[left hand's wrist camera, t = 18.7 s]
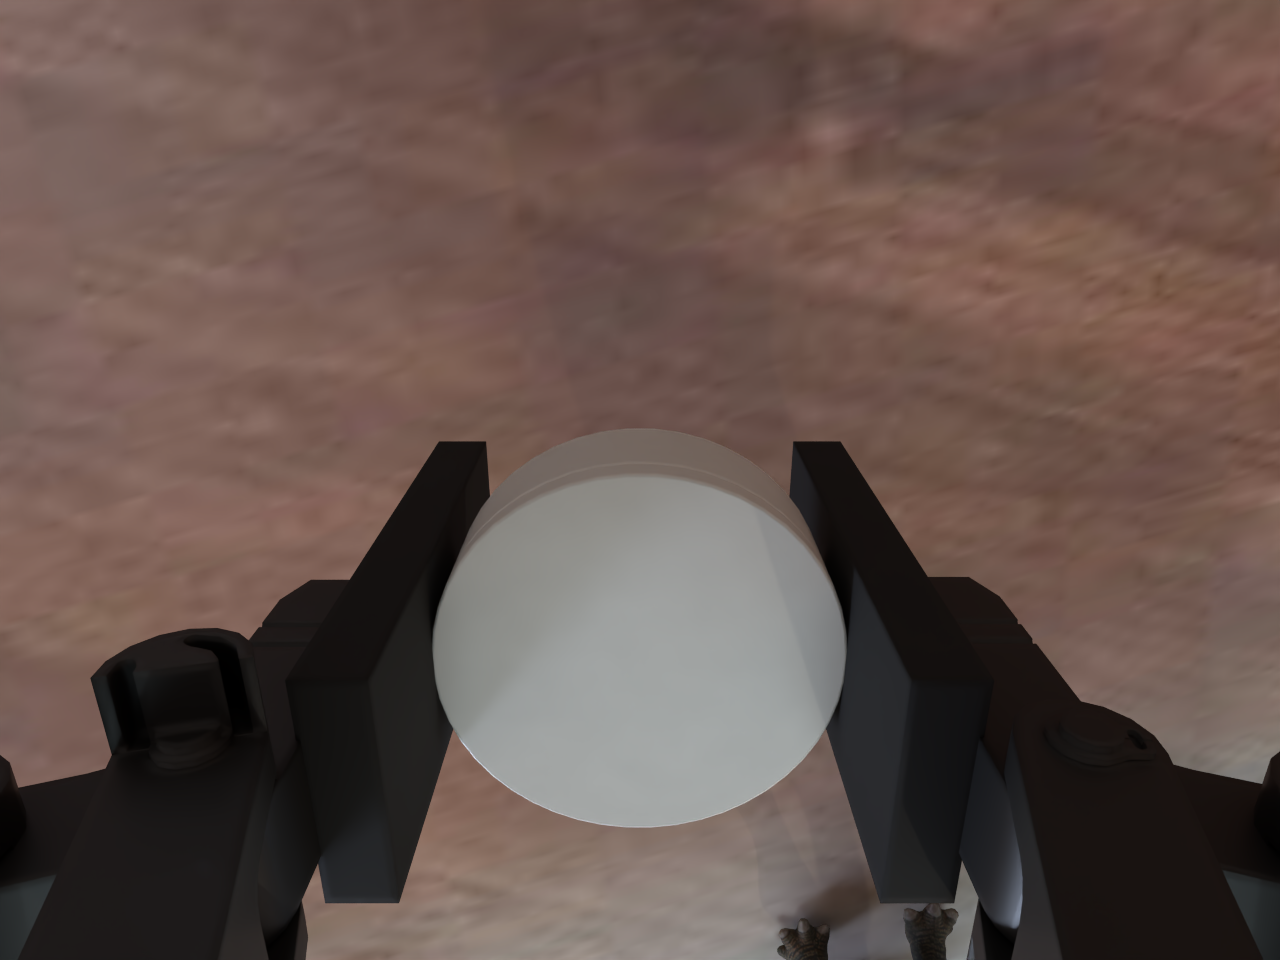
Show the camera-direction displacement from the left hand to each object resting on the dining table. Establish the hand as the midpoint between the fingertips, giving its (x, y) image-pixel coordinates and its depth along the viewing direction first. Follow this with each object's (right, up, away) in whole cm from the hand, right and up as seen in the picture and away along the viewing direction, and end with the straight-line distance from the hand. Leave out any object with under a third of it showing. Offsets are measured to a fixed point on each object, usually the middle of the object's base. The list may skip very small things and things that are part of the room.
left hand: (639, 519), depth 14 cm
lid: (0, -1, -4) cm, 4 cm away
